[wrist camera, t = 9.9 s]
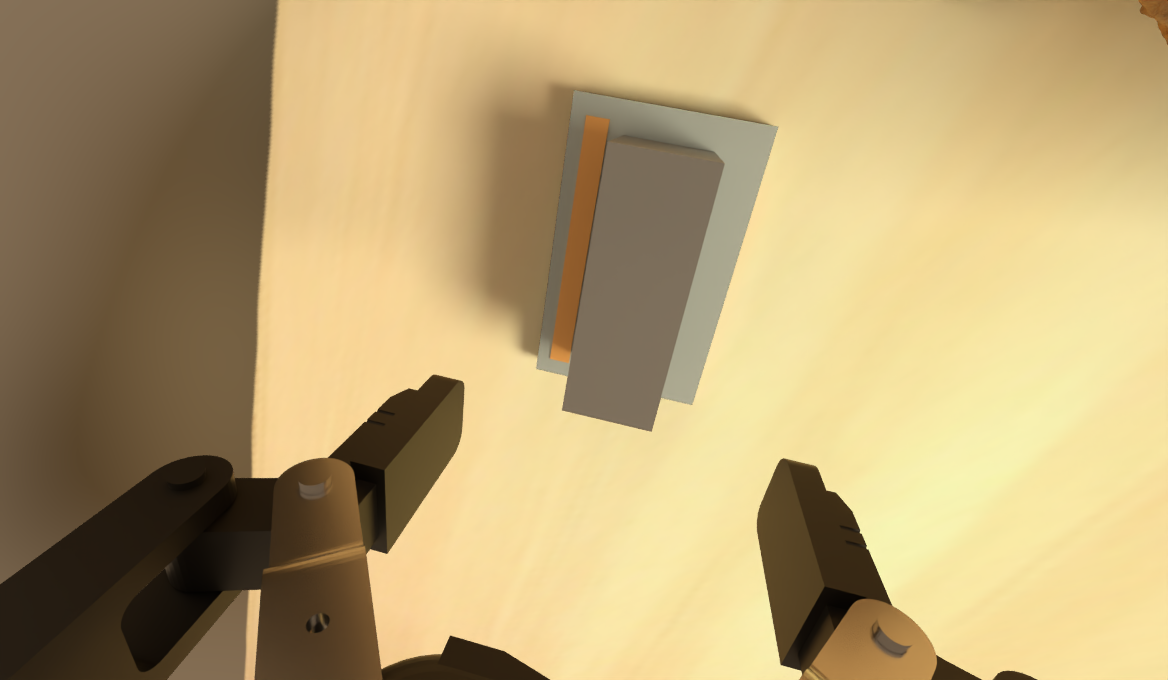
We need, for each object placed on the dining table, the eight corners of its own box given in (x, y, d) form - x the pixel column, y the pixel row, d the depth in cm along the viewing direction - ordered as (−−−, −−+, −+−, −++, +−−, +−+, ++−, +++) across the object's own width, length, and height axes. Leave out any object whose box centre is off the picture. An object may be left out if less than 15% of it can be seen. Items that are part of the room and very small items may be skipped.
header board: (773, 126, 25) (798, 129, 19) (691, 392, 32) (694, 448, 26) (579, 91, 26) (553, 85, 20) (542, 358, 33) (515, 405, 27)
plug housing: (714, 152, 24) (725, 163, 19) (656, 373, 30) (651, 431, 24) (623, 134, 25) (607, 141, 19) (583, 356, 30) (562, 410, 25)
